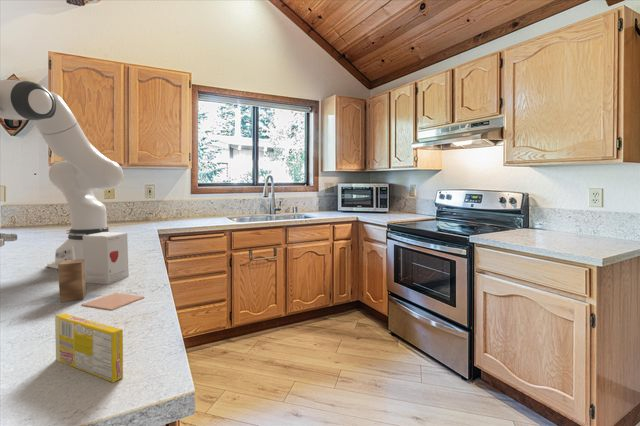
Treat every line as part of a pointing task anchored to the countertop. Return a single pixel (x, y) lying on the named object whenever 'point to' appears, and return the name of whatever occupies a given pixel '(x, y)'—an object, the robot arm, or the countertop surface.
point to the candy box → (89, 346)
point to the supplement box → (105, 257)
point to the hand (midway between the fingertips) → (10, 239)
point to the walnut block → (72, 280)
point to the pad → (113, 301)
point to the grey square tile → (57, 301)
